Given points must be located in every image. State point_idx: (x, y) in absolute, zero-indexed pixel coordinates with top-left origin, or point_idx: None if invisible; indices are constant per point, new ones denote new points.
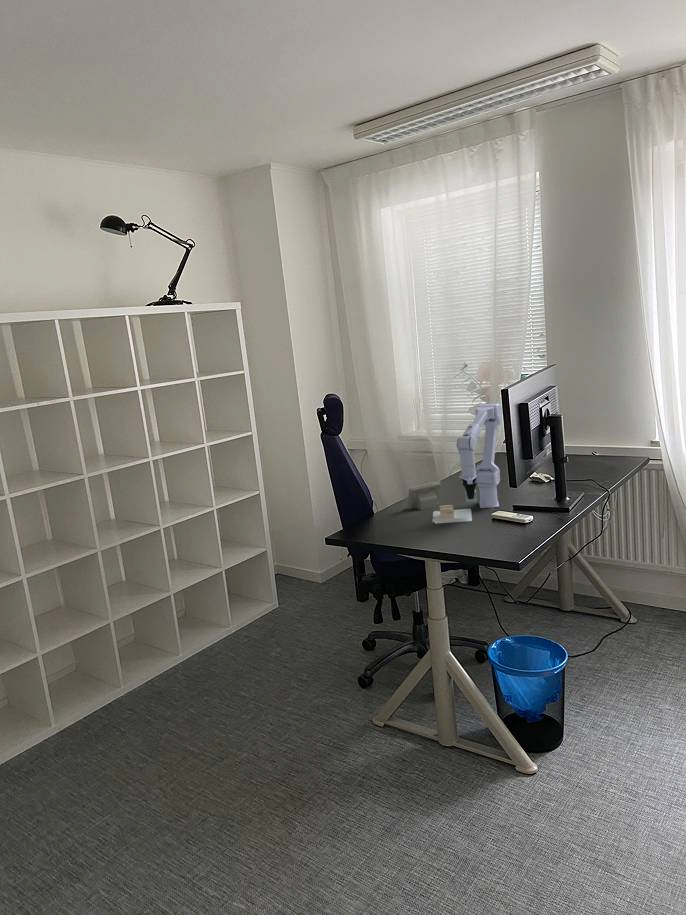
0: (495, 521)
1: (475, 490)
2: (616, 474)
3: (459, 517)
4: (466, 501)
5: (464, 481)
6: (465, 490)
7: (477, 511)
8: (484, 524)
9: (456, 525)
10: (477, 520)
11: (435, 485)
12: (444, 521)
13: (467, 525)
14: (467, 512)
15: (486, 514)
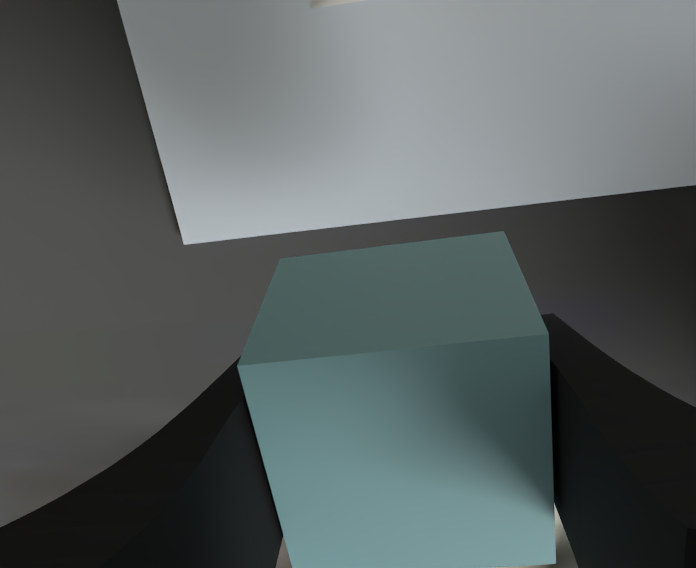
0: None
1: (459, 560)
2: None
3: (347, 53)
4: (281, 277)
5: (668, 560)
6: (522, 352)
7: (651, 265)
8: (99, 373)
9: (19, 50)
10: (246, 294)
11: None
12: None
13: (40, 197)
14: (590, 145)
15: None
